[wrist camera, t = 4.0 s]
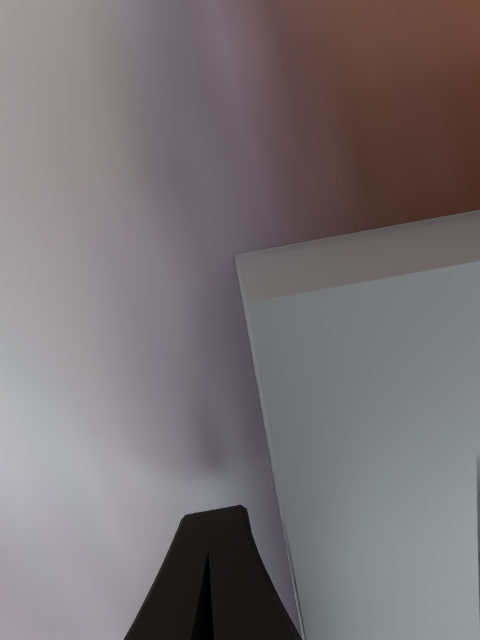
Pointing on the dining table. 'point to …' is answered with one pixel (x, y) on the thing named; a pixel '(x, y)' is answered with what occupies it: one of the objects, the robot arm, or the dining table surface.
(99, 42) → the dining table surface
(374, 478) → the socket block
